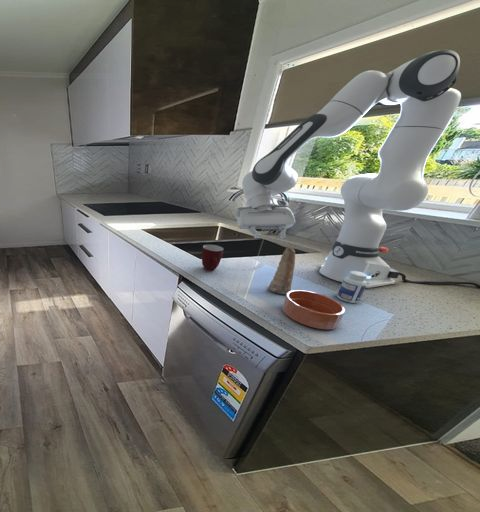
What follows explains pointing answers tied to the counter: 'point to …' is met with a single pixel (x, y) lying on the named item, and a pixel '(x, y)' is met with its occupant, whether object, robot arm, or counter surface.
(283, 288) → the brown tapered cone
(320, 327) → the bowl
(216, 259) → the mug
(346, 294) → the pill bottle
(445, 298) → the counter surface
